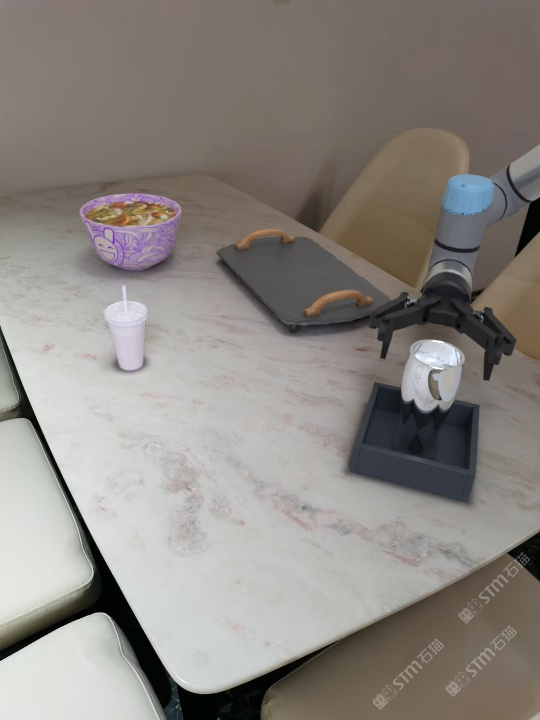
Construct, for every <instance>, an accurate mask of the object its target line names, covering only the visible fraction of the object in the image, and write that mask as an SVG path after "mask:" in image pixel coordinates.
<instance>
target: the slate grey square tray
mask: <svg viewBox="0 0 540 720" xmlns="http://www.w3.org/2000/svg"><path fill="white" fill-rule="evenodd" d="M400 389H401V386H395V385H391V384H386V383H382V382H378V381H374V383H373V386H372V389H371V393H370V396H369V399H368V401H367V404H366V408H365V412H364V414H363V416H362V417H363V418H362V420H361V423H360V427H359V430H358V433H357V436H356V439H355V442H354V446H353V451H352V457H351V464H350V469H349V472H350V473H352V474H356V475H360V476H365V477H368V478H372V479H376V480H379V481H384V482H386V483H387V482H388V483H391V484H395V485H399V486H402V487H407V488H410V489H414V490H417V491H420V492H421V491H422V492H426V493H429V494H433V495H438V496H441V497H444V498H448V499H452V500H456V501H460V502H464V503H468V501H469V497H470V494H471V492H472V488H473V485H474V482H475V480H476V476H477V459H478V444H479V443H478V442H479V441H478V440H479V422H480V407H481V406H480V404H477V403H473V402H468V401H462V400H458V399H455V401H454V403H453V406H452V408H451V410H450V412H449V413H448V415H447V417H446V419H445V421H444V423H443V425H442V427H441V430H440V433H439V439H438V453H437V455H436V456H435V457H434V458H433V459H432V460H428V459H424V458H420V457H416V456H412V455H407V454H403V453H399V452H396V451H395V450H394V448H393V446H392V439H393V436H394V434H395V432H396V430H397V428H398V425H399V421H400Z"/></svg>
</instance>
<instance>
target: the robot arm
mask: <svg viewBox="0 0 540 720" xmlns="http://www.w3.org/2000/svg"><path fill="white" fill-rule="evenodd" d="M539 198H540V144H538V145H536V146H535V147H533V148H532V149H531V150H529V151H527V152H526V153H525V154H523V155H521V156H520V157H519V158H517V159H515V160H514V161H513V162H510V164H508V165H507V166H505V167H503V168H502V169H500V170H499V171H497V172H496V173H495V174H493V175H491V176H490V177H486V176H482V175H477V174H472V173H463V174H455V175H453V176H451V177H450V178H449V179H448V181H447V183H446V187H445V190H444V194H443V195H442V198H441V206H440V211H439V216H438V221H437V226H436V232H435V236H434V240H433V246H432V248H431V253H430V257H429V261H428V267H427V273H426V275H425V280H424V283H423V289H422V292H421V296H420V297H418V298H413V297H411V296H409V295H410V293H409V292H408V291H401V292H400V293H399V295H398V296H397V297H396V298H393V299H392V300H391V301H390V302H388V303H386V304H384V305H382V306H380V307H378V308H377V309H375V310H373V311H371V315H369V321H368V322H369V323H368V328H369V329H371V330H375V329H378V330H377V335H376V336H377V337H376V340H377V341H378V342H382V344H381V350H380V356H379V359H382V360H386V359H387V355H388V353H389V349H390V346H391V342H392V338H393V334H394V332H395V331H400V330H402V329H405V328H409V327H412V326H415V325H417V326H423V325H427V324H431V325H440V326H444V327H448V328H453V329H454V330H455V331H456V332H458V333H459V334H462V335H463V334H464V335H466V336H467V337H468V338H470V339H471V340H472V341H473V342H474V343H476V344H477V345H478V346H480V347H481V348H482V349H484V354H483V372H482V373H483V375H482V380H483V381H487V382H490V379H491V377H492V373H493V370H494V366H495V365H496V366H499V365H500V363H501V361H502V358H503V355H504V356H506V357H512V356H513V353H514V350H515V347H516V343H517V338H516V337H515V336H514V335H513V334H512V333H511V332H510V331H509V330H508V329H507V327H506V326H505V325H504V324H503V323H502V322H501V321H500V320H499V319H498V318H497V317H496V316H495V315H494V311H493V308H492V307H489V306H484V307H483V309H482V310H477V309H474V308H473V307H472V305H471V303H472V302H471V301H472V293H473V277H474V271H475V268H476V267H475V266H476V262H477V259H478V255H479V251H480V247H481V245H482V240H483V237H484V232H485V229H486V228H488V227H490V226H492V225H494V224H496V223H498V222H499V221H502V220H503V219H505V218H508V217H511V216H513V215H514V214H516V213H518V212H519V211H520V210H522V209H523V208H524V207H526V206H528V205H530V204H531V203H533V202H534V201H536V200H537V199H539Z"/></svg>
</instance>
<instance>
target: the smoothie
mask: <svg viewBox="0 0 540 720" xmlns="http://www.w3.org/2000/svg"><path fill="white" fill-rule="evenodd" d="M121 290H122V300H121V301H117V302H113V303H111V304H110V305H108V306H107V307H106V308H105V309H104V311H103V315H104V321H105V322H106V323H107V324H108V325H107V326H108V329H109V333H110V336H111V340H112V343H113V347H114V352H115V354H116V358H117V363H118V366H119V368H120V369H122V370H124V371H136V370H138V369H140V368H141V367H143V365H144V355H145V354H144V353H145V341H146V339H145V338H146V326H147V325H146V323H147V322H146V321H147V319H148V317H149V314H148V313H149V312H148V307H147V306H146V305H145V304H144V303H141V302H139V301H134V300H128V294H127V293H128V292H127V285H126V284H123V285H121Z"/></svg>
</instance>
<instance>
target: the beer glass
mask: <svg viewBox="0 0 540 720" xmlns="http://www.w3.org/2000/svg"><path fill="white" fill-rule="evenodd" d="M465 361H466V358H465V354H464V353H463V351H462V350H460V348H459V347H457V346H455V345H453V344H452V343H450V342H446V341H443V340H438V339H420V340H418V341H415V342H413V343H412V344H411V345H410V348H409V351H408V354H407V357H406V361H405V364H404V368H403V372H402V374H401V375H402V376H401V380H400V388H401V389H400V421H399V425H398V428H397V430H396V432H395V434H394V436H393V439H392V446H393V448H394V450H395V451H396V452H399V453H403V454H407V455H412V456H416V457H420V458H424V459H428V460H432V459H433V458H434V457H435V456H436V455H437V453H438V439H439V433H440V430H441V427H442V425H443V423H444V421H445V419H446V417H447V415H448V413H449V412H450V410H451V408H452V406H453V403H454V401H455V400H457V399H456V398H457V396H458V393H459V390H460V385H461V381H462V376H463V371H464V364H465Z"/></svg>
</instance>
